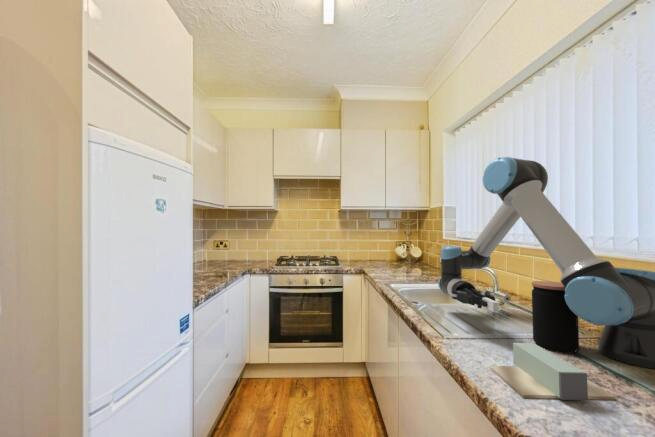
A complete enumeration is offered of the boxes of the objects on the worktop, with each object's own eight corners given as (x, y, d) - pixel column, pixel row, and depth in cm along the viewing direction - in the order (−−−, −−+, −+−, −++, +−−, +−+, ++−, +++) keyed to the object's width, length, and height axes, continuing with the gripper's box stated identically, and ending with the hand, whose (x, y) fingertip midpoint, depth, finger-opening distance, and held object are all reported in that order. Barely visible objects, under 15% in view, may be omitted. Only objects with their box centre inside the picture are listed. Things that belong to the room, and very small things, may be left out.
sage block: (533, 343, 75) (587, 373, 59) (534, 363, 75) (587, 399, 59) (513, 342, 75) (560, 373, 59) (513, 363, 75) (561, 399, 59)
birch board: (566, 369, 73) (566, 367, 73) (615, 399, 60) (615, 396, 60) (489, 368, 73) (489, 365, 73) (522, 397, 60) (522, 394, 60)
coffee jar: (588, 355, 81) (586, 287, 82) (544, 352, 83) (542, 286, 84) (565, 341, 92) (563, 281, 93) (526, 339, 94) (525, 280, 95)
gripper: (479, 301, 111) (518, 320, 87) (443, 300, 111) (473, 320, 88) (479, 280, 111) (518, 294, 88) (443, 280, 111) (472, 293, 88)
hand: (495, 307), depth 88 cm, fingers closed
